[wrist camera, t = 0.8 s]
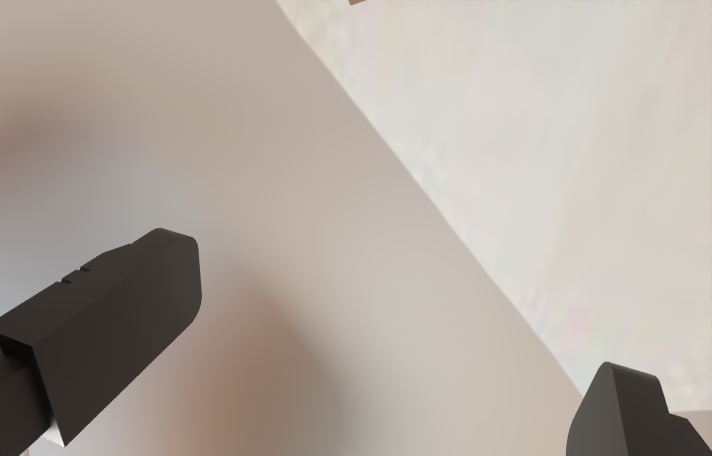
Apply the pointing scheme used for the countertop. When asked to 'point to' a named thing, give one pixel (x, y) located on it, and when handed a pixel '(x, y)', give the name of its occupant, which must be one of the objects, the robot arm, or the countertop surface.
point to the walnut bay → (355, 1)
